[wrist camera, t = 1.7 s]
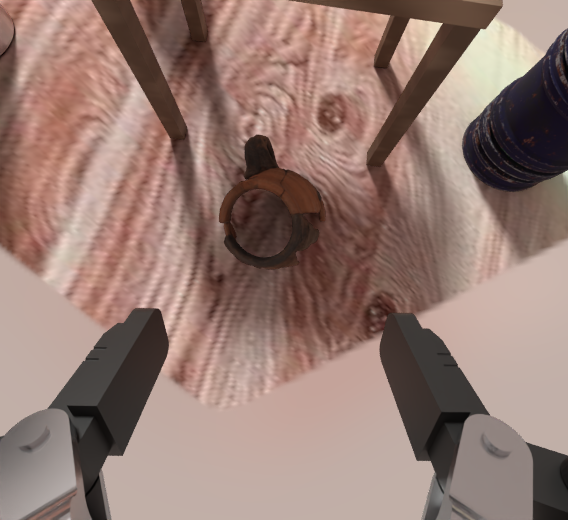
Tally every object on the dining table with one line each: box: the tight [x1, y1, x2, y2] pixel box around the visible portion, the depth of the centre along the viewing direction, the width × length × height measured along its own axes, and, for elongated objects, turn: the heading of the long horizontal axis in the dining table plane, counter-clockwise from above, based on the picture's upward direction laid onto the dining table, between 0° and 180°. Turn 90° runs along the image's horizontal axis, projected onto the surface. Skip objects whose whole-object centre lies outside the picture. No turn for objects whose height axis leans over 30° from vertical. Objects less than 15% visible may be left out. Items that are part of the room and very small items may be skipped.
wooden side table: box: [92, 0, 503, 167], centre depth 24 cm, size 23×14×16 cm, turn 83°
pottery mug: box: [219, 135, 325, 270], centre depth 27 cm, size 12×9×8 cm
